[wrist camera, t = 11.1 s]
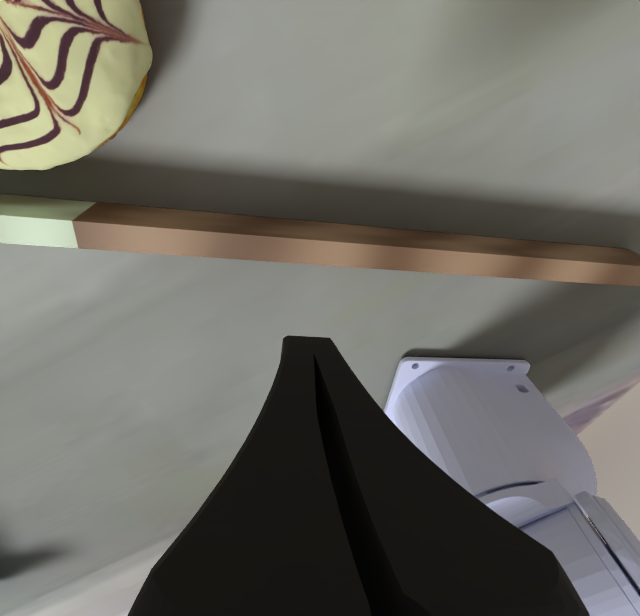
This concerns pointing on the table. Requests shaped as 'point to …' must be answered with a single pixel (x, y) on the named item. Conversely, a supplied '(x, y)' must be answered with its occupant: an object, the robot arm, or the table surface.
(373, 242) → the lane
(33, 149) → the decorated donut
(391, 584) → the robot arm
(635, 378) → the table surface
